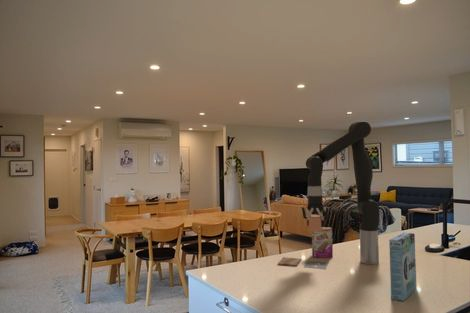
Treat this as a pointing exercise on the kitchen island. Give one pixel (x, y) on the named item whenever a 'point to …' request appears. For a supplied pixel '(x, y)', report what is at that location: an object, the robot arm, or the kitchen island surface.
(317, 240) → the candy bar box
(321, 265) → the tile
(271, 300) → the kitchen island surface
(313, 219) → the terracotta block
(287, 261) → the walnut board
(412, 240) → the gum box
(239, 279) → the kitchen island surface
